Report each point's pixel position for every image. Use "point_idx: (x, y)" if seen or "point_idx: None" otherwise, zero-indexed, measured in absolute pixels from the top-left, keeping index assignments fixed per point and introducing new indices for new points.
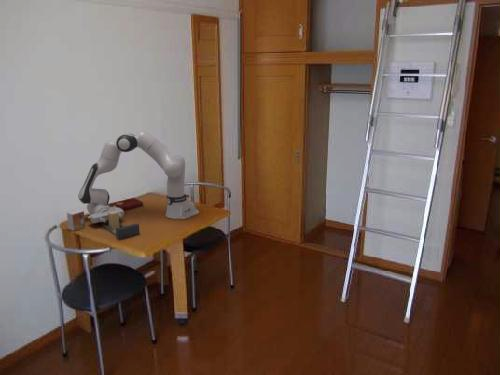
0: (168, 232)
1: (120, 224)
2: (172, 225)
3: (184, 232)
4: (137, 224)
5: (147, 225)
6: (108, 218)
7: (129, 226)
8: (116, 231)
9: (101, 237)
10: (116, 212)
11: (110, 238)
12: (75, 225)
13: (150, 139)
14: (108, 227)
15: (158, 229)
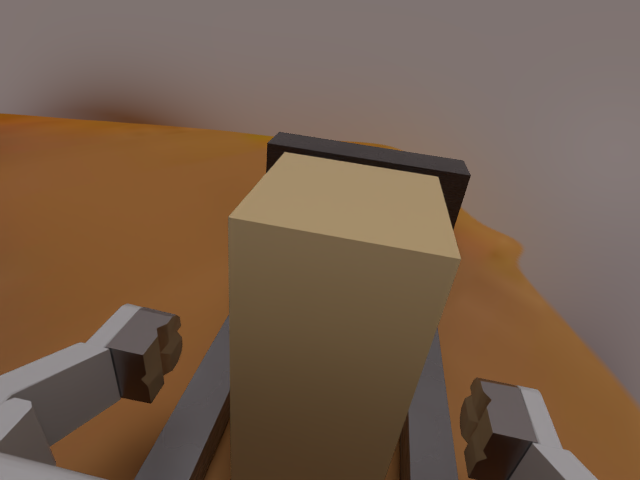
0: (161, 149)
1: (222, 376)
2: (27, 160)
3: (131, 125)
4: (282, 136)
5: (67, 239)
6: (412, 395)
7: (353, 148)
8: (462, 193)
9: (567, 346)
10: (303, 166)
11: (487, 284)
12: None
13: None
14: (428, 427)
15: (135, 179)
